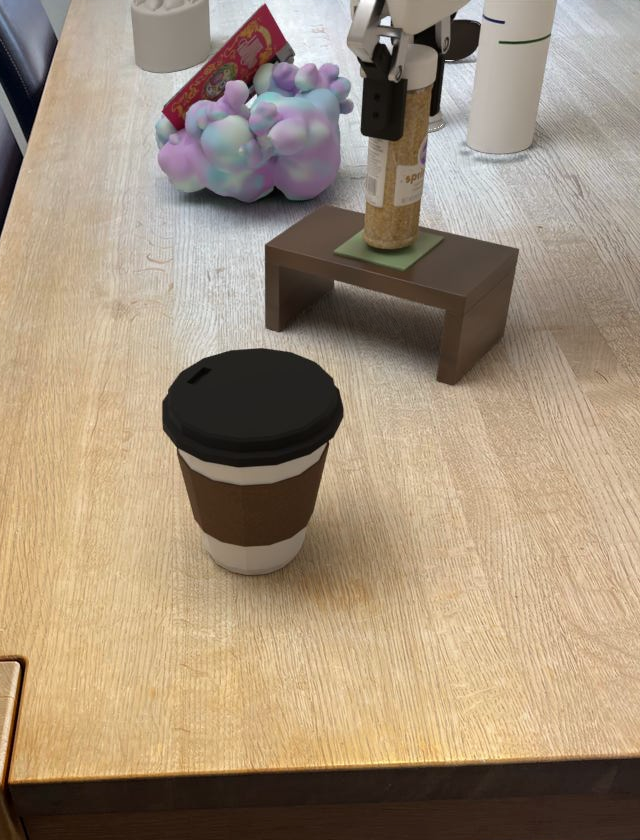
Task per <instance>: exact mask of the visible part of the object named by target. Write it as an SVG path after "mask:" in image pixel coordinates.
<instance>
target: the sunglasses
mask: <svg viewBox="0 0 640 840" xmlns="http://www.w3.org/2000/svg"><path fill="white" fill-rule="evenodd" d="M389 26H393V23H392V20H391V19H390V25H389ZM393 27H394V26H393ZM480 30H481V22H479V21H477V20H474V19H466V18H465V19H464V18H463V19H461V18H459V19H454V20H453V22H452V24H451V26H450V45H449V48H448V51H447V52H446V53H445V54H441V53H440V55H444V56H446V57H445V60H455V61H454V62H458V61H462V60H464V59H467V58H468V57H470V56H472V55H473V54H474V53H475V52H476V51H477V50H478V45H479V37H480ZM389 39H390V44H391V46H392V45H393V43H394V38H390V37H389Z"/></svg>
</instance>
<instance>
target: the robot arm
mask: <svg viewBox="0 0 640 840" xmlns="http://www.w3.org/2000/svg"><path fill="white" fill-rule="evenodd" d="M471 1H472V0H349V2H350V3H349V4H350V5H349V6H350V7H349V9H350V18H351V23H350V27H349V30H348V33H347V36H346V47H347V48H348V49H349V50H350V52H352V54H354V55H355V57H356V59H357V62H358V63H359V65H360V67H359V76H360V78H362V79H363V80H362V94H361V95H362V97H361V112H360V127H359V128H360V129H359V130H360V134H361V135H362V136H364V137H366V138H369V137H372V138H377V139H383V140H388V141H394V142H396V141H398V140H399V139H401V138H402V136H403V130H404V118H405V107H406V95H407V84H408V79H404V78H402V75H403V70H404V65H405V59H406V54H407V49H408V44H419V45H425V46H429V47H431V48H433V49H435V51H436V52H437V54H438V59H437V71H436V79H435V81H434V82H433V88H432V91H431V103H430V114H429V116H430V117H433V116H435V115H436V114H438V113H439V110H440V111H441V109H440V107H441V103H442V93H443V83H444V73H445V64H446V61H445V57H446V56H444V55H440V53H441V54H445V53H446V52H447V51H448V48H449V45H450V26H451V24H452V22H453V19H454V20H455V18H456V17H455V16H457V14H456V11H458V12H459V11H460V10H461V9H462V8H464V7H465V6H467V5H468V4H469V3H470V2H471ZM387 17H390V21H391V20H392V23H393V26H394V27H393V26H390V25H384V24H381V23H382V20H384V19H385V18H387ZM381 37H382V38H389V39H390V38H394V43H393V49H392V54H390V52H389V50H388V48H387V46H388V45H386V43H381V42H380V40H381Z"/></svg>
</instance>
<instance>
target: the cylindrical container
mask: <svg viewBox="0 0 640 840" xmlns="http://www.w3.org/2000/svg"><path fill="white" fill-rule="evenodd" d="M557 4H558V0H483V7H482V16H481V22H480V23H481V30H480V37H479V45H478V47H477V53H476V61H475V69H474V76H473V85H472V91H471V100H470V108H469V115H468V122H467V131H466V137H465V145H466V146H467V147H469V148H470V149H472V150H474V151H476V152H481V153H483V154H484V153H485V154H496V155H503V154H513V153H518V152H521V151H524V150H527V149H528V148H530V147H531V146H532V145H533V140H534V135H535V129H536V123H537V117H538V111H539V106H540V100H541V95H542V88H543V83H544V78H545V72H546V66H547V61H548V54H549V48H550V44H551V38H552V30H553V26H554V21H555V14H556V9H557Z"/></svg>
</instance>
